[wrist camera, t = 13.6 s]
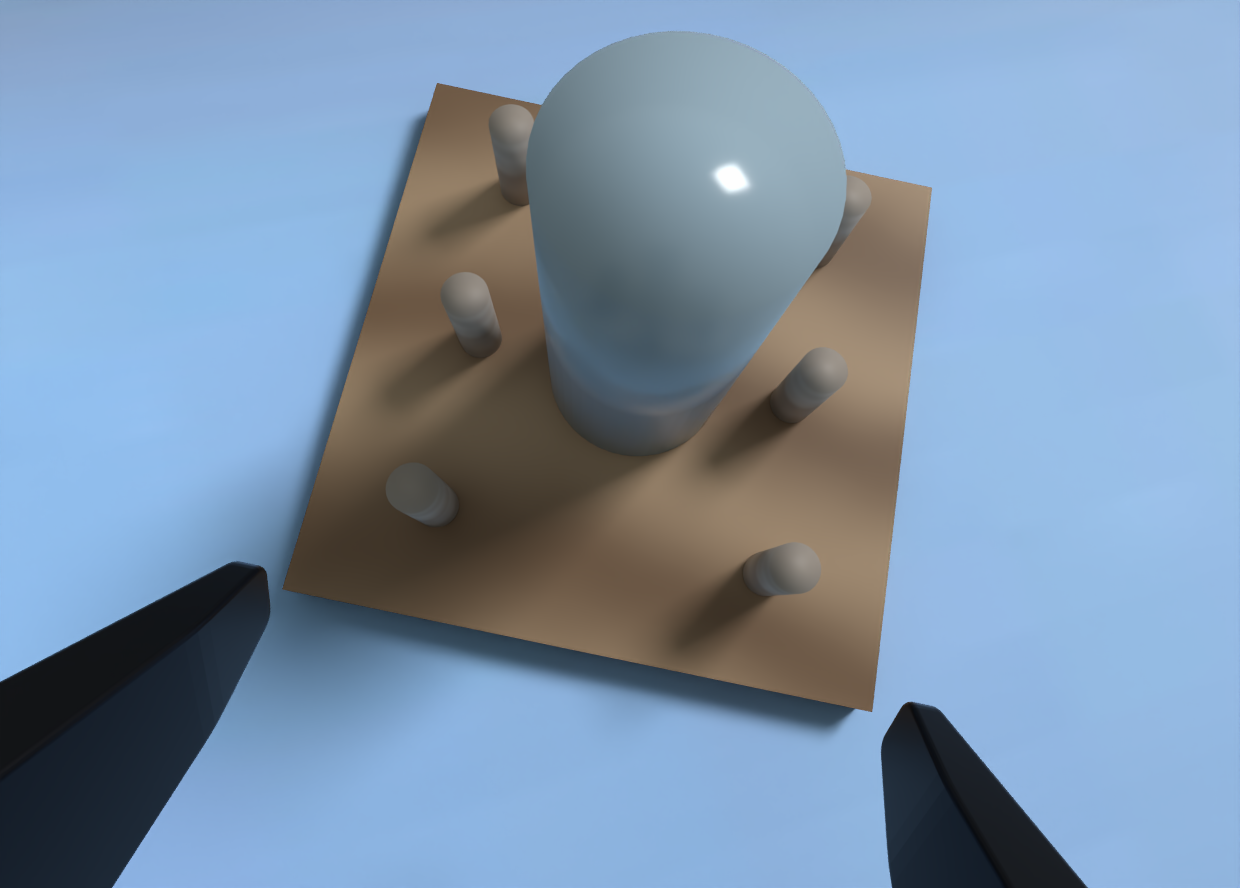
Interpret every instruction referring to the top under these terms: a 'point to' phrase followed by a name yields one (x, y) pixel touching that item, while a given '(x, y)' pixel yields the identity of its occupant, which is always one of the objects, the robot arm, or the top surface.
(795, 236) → the grey dome-topped cylinder
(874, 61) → the top surface
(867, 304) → the dish rack
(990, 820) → the robot arm
